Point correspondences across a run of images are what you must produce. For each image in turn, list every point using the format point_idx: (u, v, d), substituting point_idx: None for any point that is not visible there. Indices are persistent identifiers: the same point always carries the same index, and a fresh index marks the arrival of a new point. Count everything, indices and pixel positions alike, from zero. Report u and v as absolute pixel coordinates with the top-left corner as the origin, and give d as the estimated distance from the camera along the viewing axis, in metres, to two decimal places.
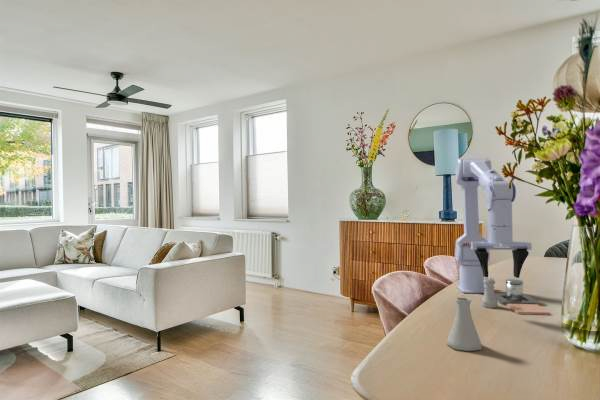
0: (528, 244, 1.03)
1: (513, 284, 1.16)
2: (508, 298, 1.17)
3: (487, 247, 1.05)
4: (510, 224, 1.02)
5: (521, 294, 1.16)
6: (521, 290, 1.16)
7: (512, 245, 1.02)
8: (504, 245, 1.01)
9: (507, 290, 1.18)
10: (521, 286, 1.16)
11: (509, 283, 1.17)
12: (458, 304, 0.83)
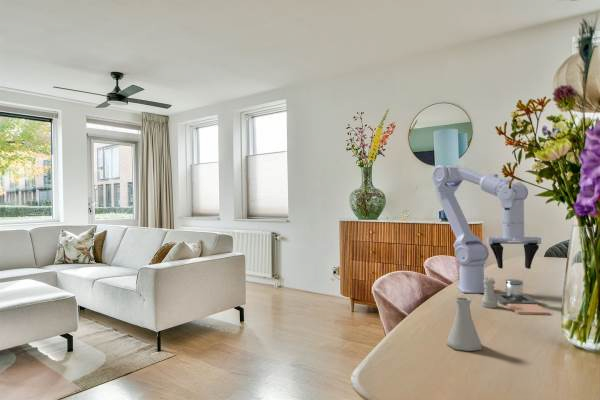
0: (538, 239, 1.16)
1: (513, 284, 1.16)
2: (508, 298, 1.17)
3: (501, 242, 1.18)
4: None
5: (521, 294, 1.16)
6: (521, 290, 1.16)
7: (524, 240, 1.15)
8: (517, 239, 1.14)
9: (507, 290, 1.18)
10: (521, 286, 1.16)
11: (509, 283, 1.17)
12: (458, 304, 0.83)
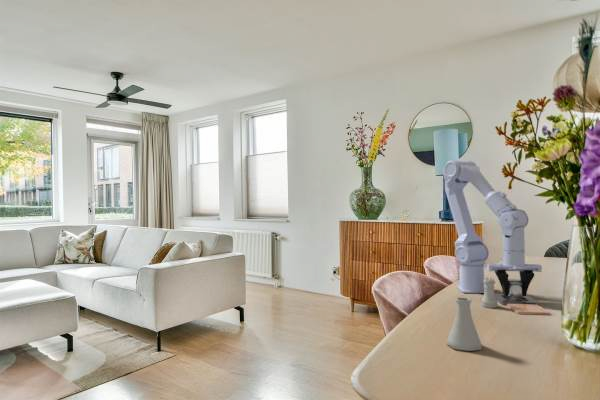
0: (539, 266, 1.16)
1: (513, 284, 1.16)
2: (508, 298, 1.17)
3: (502, 269, 1.18)
4: None
5: (521, 294, 1.16)
6: (521, 290, 1.16)
7: (524, 267, 1.15)
8: (518, 268, 1.14)
9: None
10: (521, 286, 1.16)
11: (509, 283, 1.17)
12: (458, 304, 0.83)
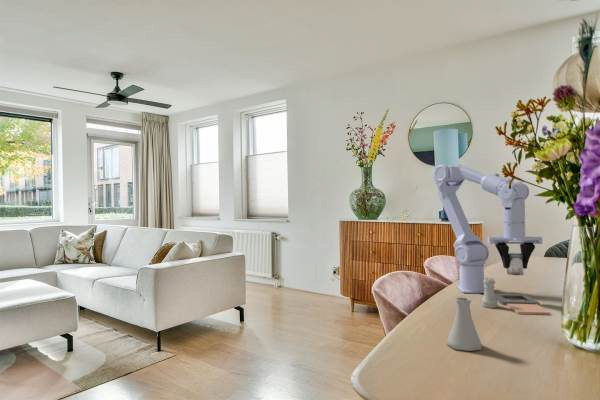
0: (539, 238, 1.15)
1: (514, 257, 1.15)
2: (509, 271, 1.17)
3: (502, 241, 1.18)
4: None
5: (522, 267, 1.15)
6: (522, 263, 1.15)
7: (525, 239, 1.14)
8: (518, 239, 1.13)
9: (508, 263, 1.17)
10: (522, 259, 1.15)
11: (510, 256, 1.16)
12: (458, 304, 0.83)
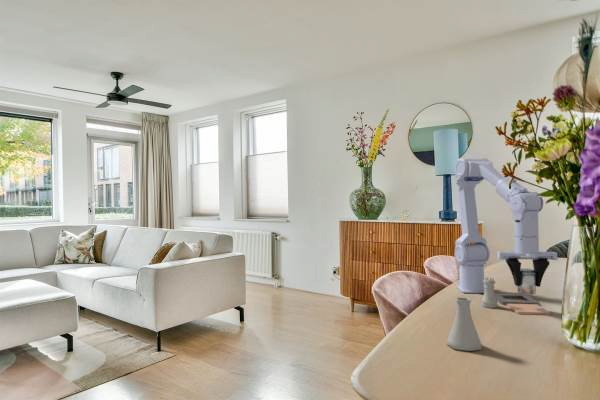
0: (554, 254, 1.06)
1: (526, 274, 1.06)
2: (520, 289, 1.08)
3: (514, 257, 1.08)
4: (538, 234, 1.06)
5: (534, 285, 1.07)
6: (535, 281, 1.07)
7: (539, 255, 1.05)
8: (531, 255, 1.04)
9: None
10: (534, 276, 1.07)
11: (522, 274, 1.07)
12: (458, 304, 0.83)
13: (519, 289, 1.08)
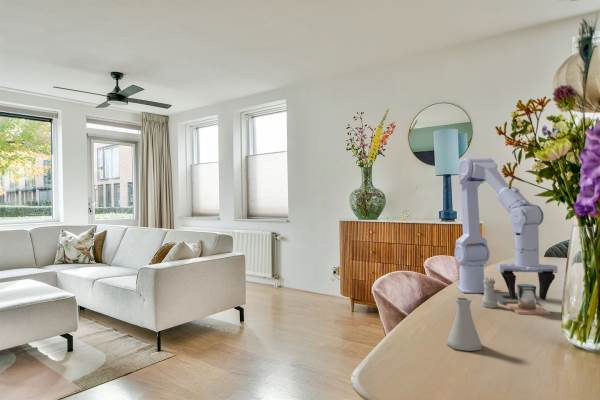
0: (554, 267, 1.06)
1: (525, 289, 1.07)
2: (520, 304, 1.08)
3: (514, 269, 1.08)
4: (538, 247, 1.06)
5: (534, 300, 1.07)
6: (534, 296, 1.07)
7: (539, 268, 1.05)
8: (531, 268, 1.04)
9: (519, 296, 1.09)
10: (534, 291, 1.07)
11: (521, 289, 1.08)
12: (458, 304, 0.83)
13: (519, 304, 1.08)
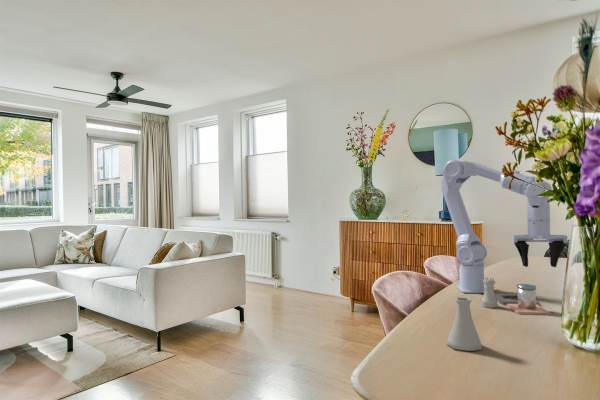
0: (564, 237, 1.14)
1: (525, 289, 1.07)
2: (520, 304, 1.08)
3: (527, 240, 1.17)
4: None
5: (534, 300, 1.07)
6: (534, 296, 1.07)
7: (550, 237, 1.14)
8: (543, 237, 1.13)
9: (519, 296, 1.09)
10: (534, 291, 1.07)
11: (521, 289, 1.08)
12: (458, 304, 0.83)
13: (519, 304, 1.08)
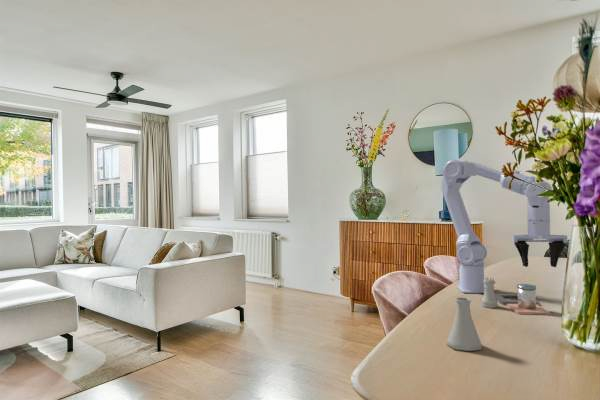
0: (564, 237, 1.14)
1: (525, 289, 1.07)
2: (520, 304, 1.08)
3: (527, 240, 1.17)
4: None
5: (534, 300, 1.07)
6: (534, 296, 1.07)
7: (550, 237, 1.14)
8: (543, 237, 1.13)
9: (519, 296, 1.09)
10: (534, 291, 1.07)
11: (521, 289, 1.08)
12: (458, 304, 0.83)
13: (519, 304, 1.08)
